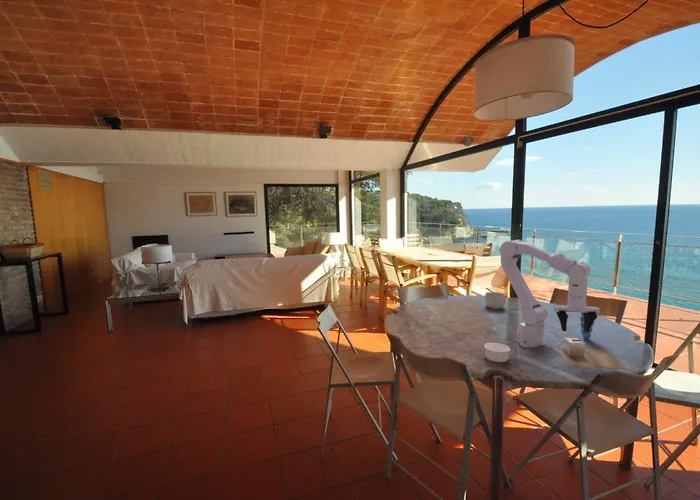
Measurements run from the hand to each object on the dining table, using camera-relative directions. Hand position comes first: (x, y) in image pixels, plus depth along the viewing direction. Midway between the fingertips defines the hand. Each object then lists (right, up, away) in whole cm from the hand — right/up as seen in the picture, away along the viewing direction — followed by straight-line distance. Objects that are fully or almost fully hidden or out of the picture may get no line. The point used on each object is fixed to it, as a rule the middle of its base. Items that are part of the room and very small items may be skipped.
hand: (574, 331), depth 127 cm
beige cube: (-1, -8, 0) cm, 8 cm away
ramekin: (-29, -10, 0) cm, 31 cm away
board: (+3, -10, -4) cm, 11 cm away
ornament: (+14, -8, +13) cm, 21 cm away
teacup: (-2, -3, +67) cm, 67 cm away
